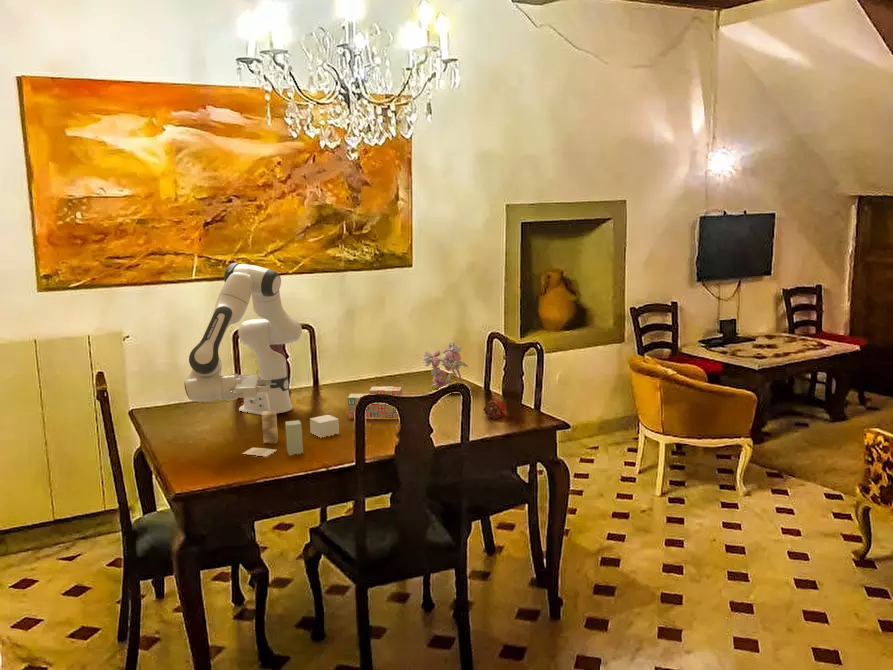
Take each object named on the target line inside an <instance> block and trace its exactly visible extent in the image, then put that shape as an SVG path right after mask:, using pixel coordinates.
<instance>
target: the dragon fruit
mask: <svg viewBox="0 0 893 670" xmlns="http://www.w3.org/2000/svg"><path fill="white" fill-rule="evenodd" d="M506 408H507V407H506V403H505V402H504V401H503V400H500V398H497V397H495V398H492V399H491V400H489V401H488V402H486V404H485V406H484V407H483V408H482V409H483V411H484V414H485V415H486V416H488V417H489V418H491V419H493V420H498V419H499V418H504V417H505V414H506V410H507V409H506Z"/></svg>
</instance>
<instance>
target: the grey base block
mask: <svg viewBox="0 0 893 670" xmlns="http://www.w3.org/2000/svg"><path fill="white" fill-rule="evenodd" d="M339 420H340V419H339V418H337V417H334V416H333V415H331V414H324V415H319V416H314V417H310V418H309V428H310V429H309V430H310V434H311V433H312V434H311V435H313V434H314V436H315V435H316V436H315V437H317V436H318V437H317V438H319V437H320V439H322V437H323V438H327V437H326V436H328V437H331V435H332V436H335V435H334V434H337V435H339V434H340V423H339ZM338 433H339V434H338Z"/></svg>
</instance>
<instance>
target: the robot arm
mask: <svg viewBox="0 0 893 670" xmlns="http://www.w3.org/2000/svg"><path fill="white" fill-rule="evenodd" d="M223 282H224V283H223V286H222V288H221V290H220V292H219V294H218V296H217V299H216V302H215V305H214V310H213V313H212V316H211V318H210V321H209V323H208V325H207V327H206V330H205V331H204V334H203V337H202V339H201V340H200V341H199V342H198V344H197V345H195V346H194V348H193V349H192V350H191V352H190V353H189V356H188V362H189V365H190V367H191V371H190V373H189V374H188V377H187V378H186V379H185V380H184V383H183V384H184V390H185V394H186V396H187V397H188V399H189V400H190V401H193V402H213V401H216V400H217V401H218V400H219V401H231V400H238V398H241V399H243V398H244V400H243V405H241V406H240V407H239V408H238V411H239V412H240V411H242V413H247V412H248V414H255V415H258V416H259V415H260V416H262V411H276V414H280V413H286V412H289V411H291V410H293V408H294V406H293V405H292V401H291V396H290V394H289V393H290V392H289V377H288V373H287V360H286V357H285V356H284V355H283V354H281V353H279V352H278V351H274V350H273V349H272V348H271V345H287V344H291V343H295V342H298V341H299V340H300V338H301V336H302V333H303V328H302V324H301V322H300V321H299V320H298V319H297V318H295V317H293V316H292V315H290V314H289V313H287V312H286V310H285V309H284V307H283V305H282V299H281V293H280V288H281V284H282V279H281V276H280V274H279V273H278V272H277V271H276V270H273V269H270V268H268V267H263V266H260V265H256V264H255V265H254V264H253V265H252V264H246V263H241V262H232V263H230V264H229V265H228V266H227V267H226V268H225V270H224V274H223ZM250 300H251V301H252V308H253V311H254V313H255V314H256V316H258V317H259V318H252V319H248V320H245V321H244V320H243V321H242V322H241V323H240V325H239V327H238V338H239V339H240V341H241V342H242V343H243V344H244V345H245V346H247V347H248V348H250V349H251V351H252V352H253V353H254V355H255V357H256V359H257V364H258V369H259V375H256V374H239V373H232V374H229V375H221V374H222V369H223V363H222V360H221V358H220V356H219V350H220V349H219V347H220V345H221V342H222V341H223V338H224V336H225V333H226V331H227V330H228V328H229V327H230V326H231V325H234V324H238V322H240V321H241V319H242V318H243V316H244V315H245V312H246V311H247V308H248V305H249V303H250Z"/></svg>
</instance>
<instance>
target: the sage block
mask: <svg viewBox="0 0 893 670" xmlns="http://www.w3.org/2000/svg"><path fill="white" fill-rule="evenodd" d="M285 437H286V438H285V439H286V440H285V441H286V452H287V454H288V456H294V454H297V455H302V454H301V453H303V454H304V448H303V446H304V445H303V429H302V423H301V421H300V420H299V419H298V420H297V419H296V420H289V421H288V420H287V421H285Z"/></svg>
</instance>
